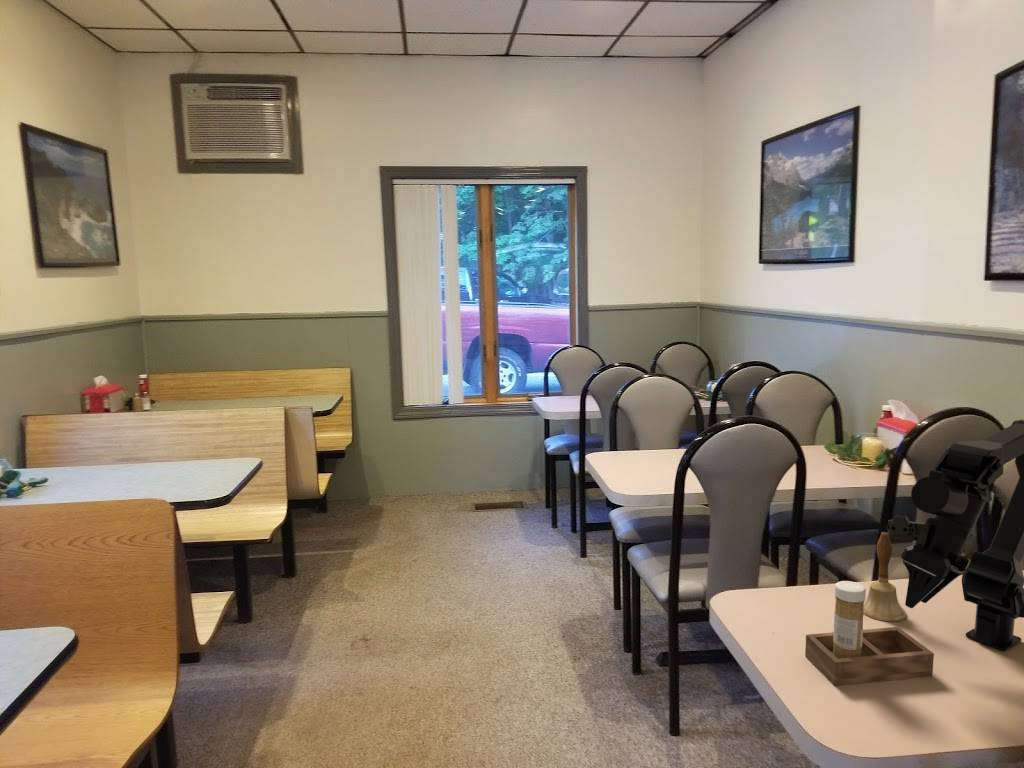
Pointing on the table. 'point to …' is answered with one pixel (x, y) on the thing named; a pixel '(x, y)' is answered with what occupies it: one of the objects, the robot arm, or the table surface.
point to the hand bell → (883, 588)
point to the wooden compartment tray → (871, 657)
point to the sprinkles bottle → (848, 619)
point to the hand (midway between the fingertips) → (915, 604)
